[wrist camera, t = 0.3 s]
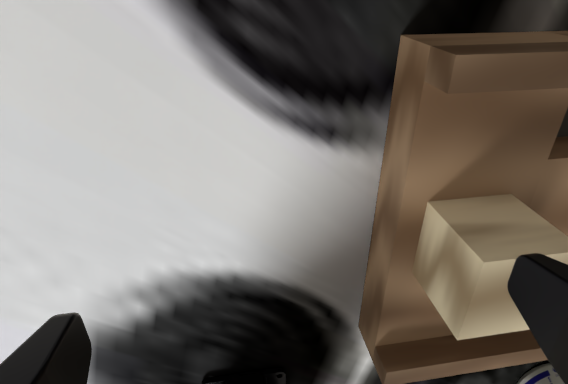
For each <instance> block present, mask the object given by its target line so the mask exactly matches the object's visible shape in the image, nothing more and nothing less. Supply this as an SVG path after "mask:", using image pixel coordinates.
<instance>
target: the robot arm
mask: <svg viewBox="0 0 568 384" xmlns="http://www.w3.org/2000/svg"><path fill="white" fill-rule="evenodd" d="M507 288H508V292H509V295H510V297H511V298H512V300H513V302H514V303H515V305H516V307H517V308H518V310H519V312H520V314H521V315H522V317H523V319H524V320H525V322H526V324H527V326H528V327H529V329H530V331H531V332H532V334H533V336H534V338H535V339H536V341H537V343H538V344H539V346H540V348H541V349H542V351H543V353H544V354H545V356H546V358H547V359H548V361H549V362H550V364H551V365H552V367H553V368H554V369H555V371H556V372H557V374H558V375H559V377H560V378H561V379H562V381H563V382H564V384H568V265H567V264H565V263H562V262H560V261H557V260H555V259H553V258H550V257H548V256H545V255H543V254H540V253H531V254H524V255H520V256H519V257H517V259H516V260H515V263H514V266H513V269H512V271H511V274H510V277H509V280H508V283H507ZM91 350H92V349H91V342H90V339H89V336H88V334H87V331H86V328H85V326H84V323H83V320H82V318H81V316H80V315H79V314H78V313H67V314H59V315H55V316H53V317H51V318H50V319H49V320H48V321H47V322H46V323H44V324H43V325H42V326H41V327H40V328H39V329H38V330H37V331H36V332H35V333H34V334H33V335H31V336H30V337H29V338H28V339H27V340H26V341H25V342H24V343H23V344H22V345H21V346H20V347H18V348H17V349H16V350H15V351H14V352H13V353H12V354H11V355H10V356H9V357H8V358H7V359H5V360H4V361H3V362H2V363H1V364H0V384H87V379H88V373H89V366H90V360H91ZM202 384H286V373H285V369H284V368H272V369H266V370H259V371H252V372H246V373H239V374H232V375H226V376H219V377H212V378H207V379H204V380H203V381H202Z"/></svg>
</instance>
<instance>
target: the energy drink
mask: <svg viewBox="0 0 568 384" xmlns="http://www.w3.org/2000/svg"><path fill="white" fill-rule="evenodd" d="M517 384H564V382H563V381H562V379H561V378H560V377H559V375H558V374H557V372H556V371H555V369H554V368H553V367H552V365H551V364H550V363H547V364H543V365H540V366H537V367H535V368H533V369H531V370H530V371H528V372H527V373H525V374H524V375H523V376H522V377H521V378H520V379H519V381H518V383H517Z"/></svg>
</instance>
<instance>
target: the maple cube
mask: <svg viewBox="0 0 568 384" xmlns="http://www.w3.org/2000/svg"><path fill="white" fill-rule="evenodd" d="M531 253H540V254H543V255H545V256H548V257H550V258H553V259H555V260H557V261H560V262H562V263H565V264H567V265H568V236H566V235H565V234H564V233H562V232H561V231H560V230H558V229H557V228H556V227H554V226H553V225H552V224H550V223H549V222H548V221H546V220H545V219H544V218H542V217H541V216H540V215H538V214H537V213H536V212H534V211H533V210H532V209H531V208H529V207H528V206H527V205H525V204H524V203H523V202H521V201H520V200H519V199H517V198H516V197H515V196H513V195H512V194H505V195H494V196H484V197H473V198H462V199H451V200H440V201H430V202H427V207H426V211H425V216H424V220H423V224H422V229H421V233H420V238H419V242H418V247H417V251H416V256H415V260H414V265H413V269H412V273H413V275H414V276H415V278H416V279H417V281H418V282H419V284H420V285H421V287H422V288H423V290H424V291H425V293H426V294H427V296H428V297H429V299H430V300H431V302H432V303H433V305H434V306H435V308H436V309H437V311H438V312H439V314H440V315H441V317H442V318H443V320H444V321H445V323H446V324H447V326H448V327H449V329H450V330H451V332H452V333H453V335H454V336H455V338H456V339H457V340H463V339H470V338H477V337H483V336H490V335H496V334H503V333H510V332H516V331H523V330H530V329H529V327H528V326H527V324H526V322H525V320H524V319H523V317H522V315H521V314H520V312H519V310H518V308H517V307H516V305H515V303H514V302H513V300H512V298H511V297H510V295H509V292H508V288H507V283H508V280H509V277H510V274H511V271H512V269H513V266H514V263H515V260H516V259H517V257H519V256H520V255H524V254H531Z"/></svg>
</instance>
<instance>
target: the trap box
mask: <svg viewBox="0 0 568 384" xmlns="http://www.w3.org/2000/svg"><path fill="white" fill-rule="evenodd" d="M505 194H512V195H513V196H515V197H516V198H517V199H519V200H520V201H521V202H523V203H524V204H525V205H527V206H528V207H529V208H531V209H532V210H533V211H534V212H536V213H537V214H538V215H540V216H541V217H542V218H544V219H545V220H546V221H548V222H549V223H550V224H552V225H553V226H554V227H556V228H557V229H558V230H560V231H561V232H562V233H564V234H565V235H566V236H568V31H540V32H500V33H461V34H421V35H401V38H400V45H399V52H398V58H397V65H396V72H395V79H394V86H393V93H392V100H391V106H390V113H389V120H388V127H387V134H386V141H385V147H384V154H383V161H382V168H381V175H380V182H379V189H378V195H377V202H376V209H375V216H374V223H373V230H372V237H371V243H370V250H369V257H368V264H367V271H366V278H365V284H364V291H363V298H362V305H361V312H360V319H359V326H358V327H359V329H360V332H361V334H362V336H363V339H364V341H365V344H366V346H367V348H368V351H369V353H370V356H371V358H372V361H373V363H374V365H375V368H376V370H377V373H378V375H379V377H380V380H381V382H382V384H404V383H410V382H416V381H422V380H428V379H434V378H440V377H447V376H453V375H459V374H465V373H471V372H477V371H483V370H489V369H495V368H501V367H507V366H514V365H520V364H526V363H532V362H538V361H544V360H548V359H547V358H546V356H545V354H544V353H543V351H542V349H541V348H540V346H539V344H538V343H537V341H536V339H535V338H534V336H533V334H532V332H531V331H530V330H523V331H516V332H510V333H503V334H496V335H490V336H483V337H477V338H470V339H463V340H457V339H456V338H455V336H454V335H453V333H452V332H451V330H450V329H449V327H448V326H447V324H446V323H445V321H444V320H443V318H442V317H441V315H440V314H439V312H438V311H437V309H436V308H435V306H434V305H433V303H432V302H431V300H430V299H429V297H428V296H427V294H426V293H425V291H424V290H423V288H422V287H421V285H420V284H419V282H418V281H417V279H416V278H415V276H414V275H413V273H412V269H413V265H414V260H415V256H416V251H417V247H418V242H419V238H420V233H421V229H422V224H423V220H424V216H425V211H426V207H427V202H430V201H440V200H451V199H462V198H473V197H484V196H494V195H505Z"/></svg>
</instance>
